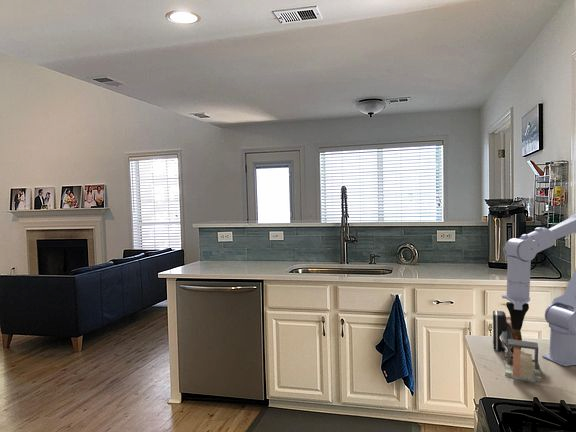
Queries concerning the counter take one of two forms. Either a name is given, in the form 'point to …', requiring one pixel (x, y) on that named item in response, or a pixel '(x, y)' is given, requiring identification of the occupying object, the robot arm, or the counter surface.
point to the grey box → (523, 345)
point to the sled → (522, 366)
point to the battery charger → (499, 329)
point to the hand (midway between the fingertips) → (516, 328)
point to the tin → (510, 334)
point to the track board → (509, 366)
